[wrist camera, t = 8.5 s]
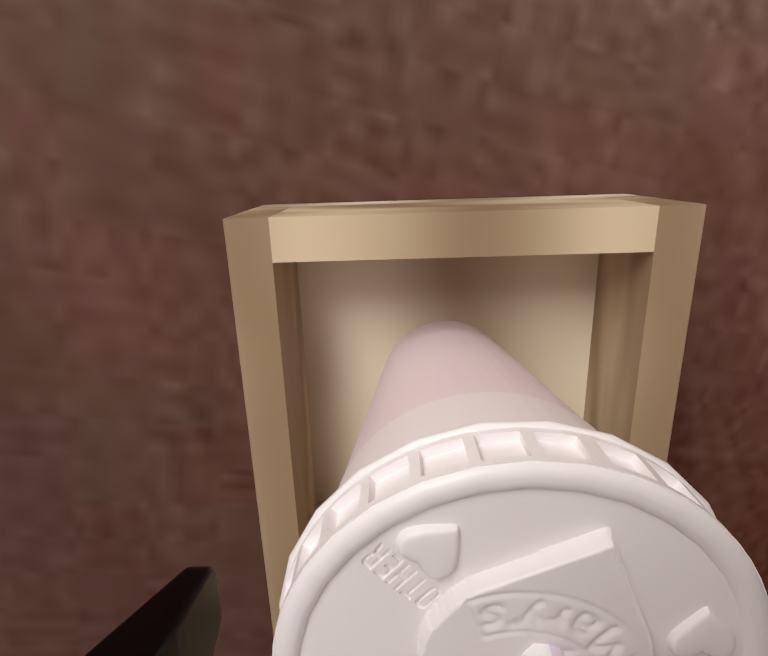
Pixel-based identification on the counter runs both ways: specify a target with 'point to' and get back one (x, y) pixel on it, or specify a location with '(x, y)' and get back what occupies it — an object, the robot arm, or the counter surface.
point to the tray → (449, 319)
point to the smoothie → (508, 529)
